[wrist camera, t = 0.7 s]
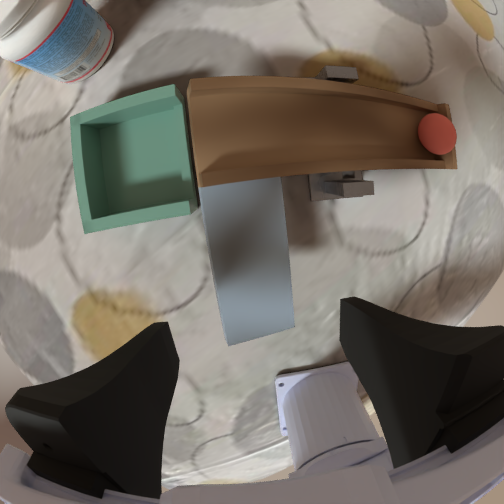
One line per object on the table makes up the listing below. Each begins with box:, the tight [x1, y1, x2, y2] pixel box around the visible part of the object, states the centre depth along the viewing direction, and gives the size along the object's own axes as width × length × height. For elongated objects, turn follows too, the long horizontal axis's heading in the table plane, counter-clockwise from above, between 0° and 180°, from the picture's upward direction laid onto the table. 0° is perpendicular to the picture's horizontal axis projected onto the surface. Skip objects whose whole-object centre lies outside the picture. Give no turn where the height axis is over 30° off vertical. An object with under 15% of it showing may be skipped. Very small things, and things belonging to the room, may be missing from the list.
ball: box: [418, 113, 457, 155], centre depth 14 cm, size 3×3×3 cm
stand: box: [308, 66, 374, 201], centre depth 16 cm, size 9×4×4 cm, turn 7°
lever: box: [187, 76, 457, 346], centre depth 15 cm, size 14×18×3 cm
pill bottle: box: [0, 0, 114, 84], centre depth 9 cm, size 6×6×11 cm
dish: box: [70, 84, 198, 234], centre depth 16 cm, size 8×7×3 cm
